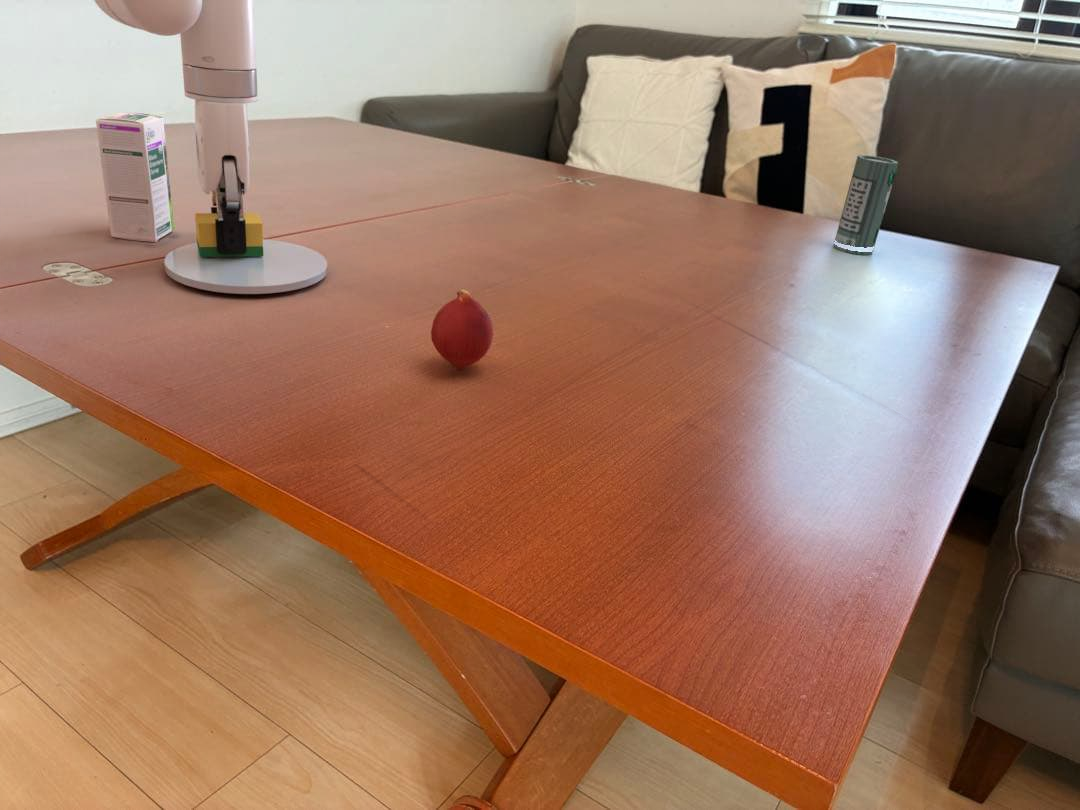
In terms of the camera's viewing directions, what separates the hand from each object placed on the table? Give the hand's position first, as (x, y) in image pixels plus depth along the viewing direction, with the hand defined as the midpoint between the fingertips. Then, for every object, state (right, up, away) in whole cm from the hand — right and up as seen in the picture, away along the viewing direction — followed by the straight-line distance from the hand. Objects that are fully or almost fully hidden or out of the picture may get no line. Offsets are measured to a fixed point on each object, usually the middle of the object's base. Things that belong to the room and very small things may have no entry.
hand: (229, 245), depth 100 cm
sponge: (0, -1, 0) cm, 1 cm away
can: (+90, +7, +43) cm, 100 cm away
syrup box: (-14, +3, +8) cm, 16 cm away
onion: (+29, -16, -18) cm, 38 cm away
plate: (+2, -3, -1) cm, 4 cm away
